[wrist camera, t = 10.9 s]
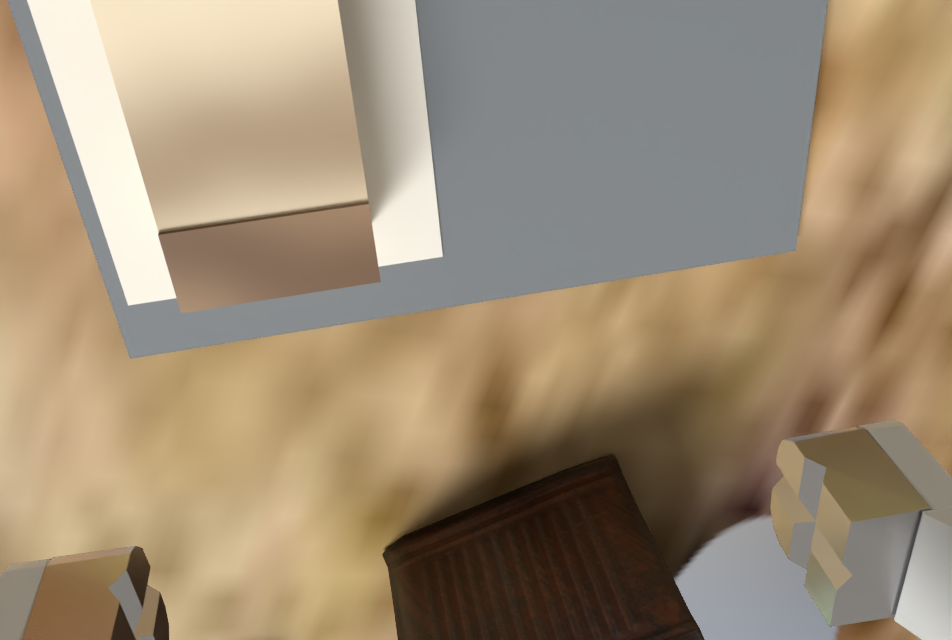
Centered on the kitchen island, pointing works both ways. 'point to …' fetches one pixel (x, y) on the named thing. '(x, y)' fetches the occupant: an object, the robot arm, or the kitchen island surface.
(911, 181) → the kitchen island surface
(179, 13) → the tan rectangular block
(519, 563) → the manual coffee grinder
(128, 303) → the mat
